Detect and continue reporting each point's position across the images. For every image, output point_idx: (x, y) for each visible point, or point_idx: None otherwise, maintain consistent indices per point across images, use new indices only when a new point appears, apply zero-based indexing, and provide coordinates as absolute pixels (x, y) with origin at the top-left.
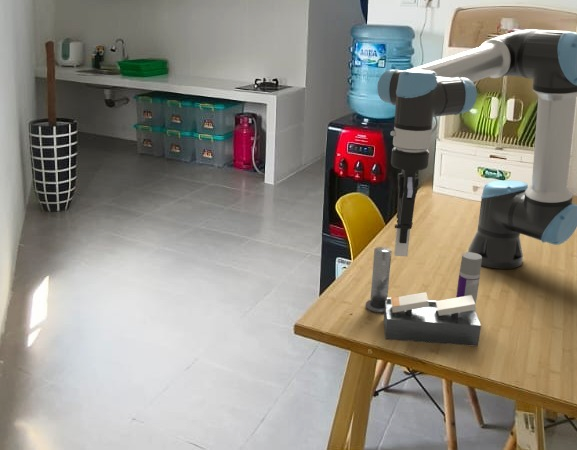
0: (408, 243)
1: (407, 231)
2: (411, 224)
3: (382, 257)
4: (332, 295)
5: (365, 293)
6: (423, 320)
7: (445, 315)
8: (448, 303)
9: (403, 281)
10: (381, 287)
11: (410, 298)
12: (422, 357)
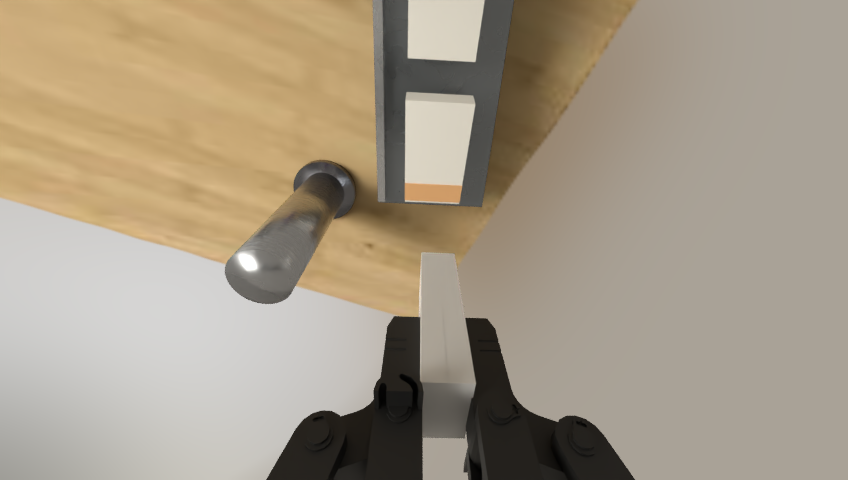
0: (460, 298)
1: (509, 387)
2: (628, 472)
3: (299, 272)
4: None
5: (257, 211)
6: (489, 111)
7: None
8: (444, 11)
9: (132, 102)
10: (329, 215)
11: (430, 154)
12: (554, 112)
